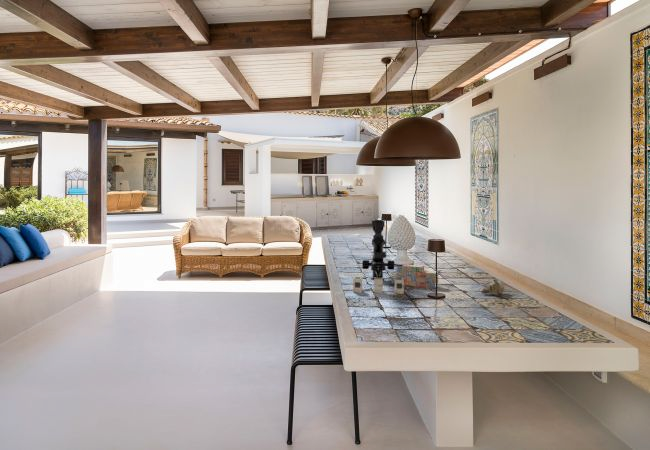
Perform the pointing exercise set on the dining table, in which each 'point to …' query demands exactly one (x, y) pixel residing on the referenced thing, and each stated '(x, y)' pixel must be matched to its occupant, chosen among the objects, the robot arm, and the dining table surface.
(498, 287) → the ceramic sculpture
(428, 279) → the stack of blocks
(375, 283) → the plain block
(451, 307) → the dining table surface
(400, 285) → the marked block 2
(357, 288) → the marked block 1
